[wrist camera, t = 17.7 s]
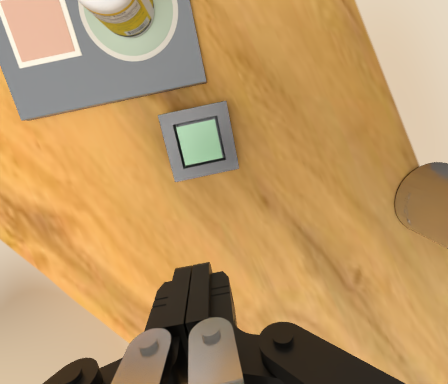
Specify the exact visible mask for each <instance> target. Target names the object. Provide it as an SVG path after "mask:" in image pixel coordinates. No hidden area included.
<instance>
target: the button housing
mask: <svg viewBox="0 0 448 384" xmlns="http://www.w3.org/2000/svg"><path fill="white" fill-rule="evenodd" d="M158 118H159V122H160V126H161V130H162V134H163V137H164V141H165V145H166V149H167V153H168V157H169V161H170V164H171V168H172V172H173V176H174V180H175V182H178V181H183V180H188V179H193V178H197V177H202V176H207V175H211V174H216V173H221V172H225V171H230V170H235V169H239V164H238V159H237V154H236V149H235V144H234V138H233V133H232V128H231V123H230V118H229V112H228V107H227V102H226V101H223V102H218V103H213V104H209V105H204V106H199V107H195V108H190V109H185V110H180V111H176V112H171V113H166V114H162V115H158ZM213 119H215V123H216V128H217V132H218V137H219V142H220V147H221V152H222V157H223V158H219V159H214V160H210V161H205V162H200V163H196V164H191V165H186V166H185V162H184V158H183V153H182V149H181V145H180V141H179V137H178V133H177V129H176V127H180V126H185V125H189V124H194V123H199V122H203V121H208V120H213Z"/></svg>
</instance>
